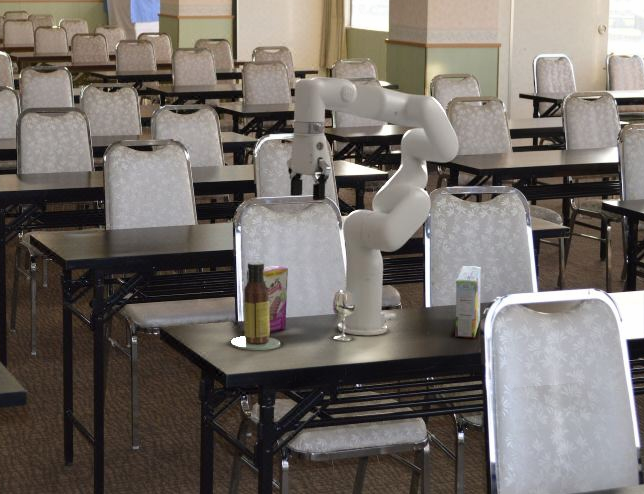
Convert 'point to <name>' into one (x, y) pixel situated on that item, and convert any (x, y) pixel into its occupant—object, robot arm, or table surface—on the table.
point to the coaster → (244, 344)
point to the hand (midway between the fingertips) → (307, 197)
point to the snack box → (468, 301)
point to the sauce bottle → (256, 306)
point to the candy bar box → (276, 295)
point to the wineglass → (343, 308)
